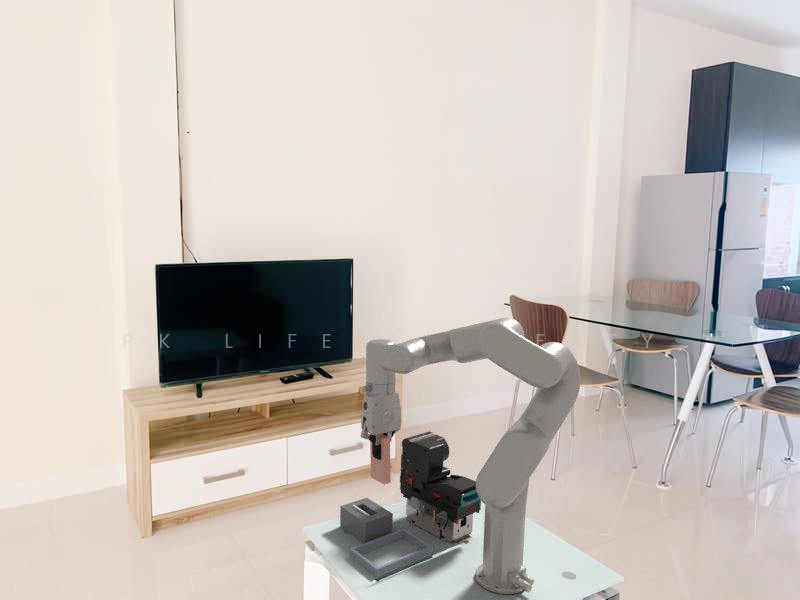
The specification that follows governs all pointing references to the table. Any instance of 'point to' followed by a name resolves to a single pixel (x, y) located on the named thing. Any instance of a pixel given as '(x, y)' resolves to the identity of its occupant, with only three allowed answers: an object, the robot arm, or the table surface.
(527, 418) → the robot arm
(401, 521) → the table surface
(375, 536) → the dispenser
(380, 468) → the salmon pink rectangular block
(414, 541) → the tray
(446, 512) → the bill acceptor
